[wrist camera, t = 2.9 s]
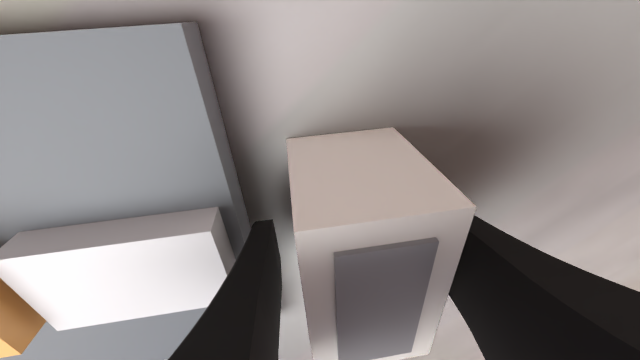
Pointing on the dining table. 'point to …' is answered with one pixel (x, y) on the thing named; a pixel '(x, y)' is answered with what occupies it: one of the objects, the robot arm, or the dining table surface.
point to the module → (373, 243)
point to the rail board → (114, 188)
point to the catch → (16, 322)
